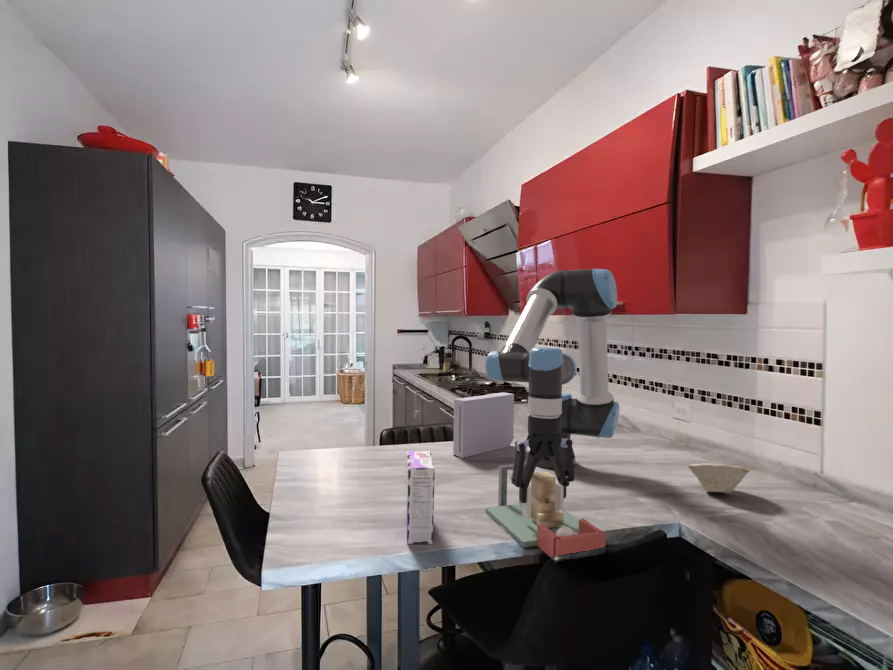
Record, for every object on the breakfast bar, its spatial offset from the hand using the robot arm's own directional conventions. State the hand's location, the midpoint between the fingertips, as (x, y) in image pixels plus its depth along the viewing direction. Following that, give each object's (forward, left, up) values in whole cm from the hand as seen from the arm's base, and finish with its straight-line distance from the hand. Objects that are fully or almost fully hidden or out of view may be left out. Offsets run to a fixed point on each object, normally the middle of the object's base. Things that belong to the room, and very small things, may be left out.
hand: (542, 514), depth 114 cm
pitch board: (0, -2, -3) cm, 4 cm away
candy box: (+27, -7, -3) cm, 28 cm away
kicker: (0, -6, -1) cm, 6 cm away
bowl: (-59, -7, -3) cm, 60 cm away
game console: (-14, -67, -3) cm, 69 cm away
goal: (0, +11, -3) cm, 12 cm away
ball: (0, +10, -1) cm, 10 cm away
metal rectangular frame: (0, -15, -3) cm, 15 cm away
